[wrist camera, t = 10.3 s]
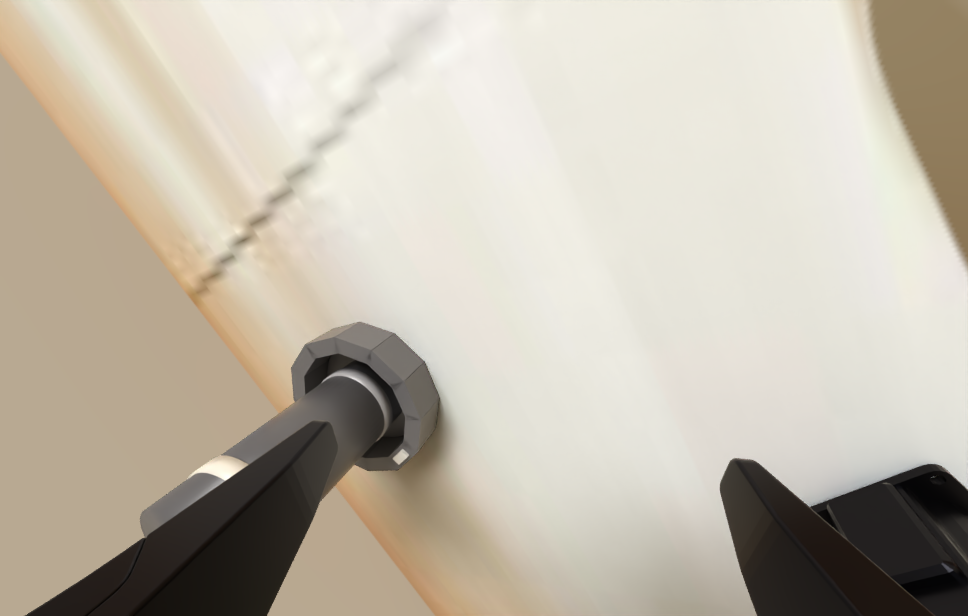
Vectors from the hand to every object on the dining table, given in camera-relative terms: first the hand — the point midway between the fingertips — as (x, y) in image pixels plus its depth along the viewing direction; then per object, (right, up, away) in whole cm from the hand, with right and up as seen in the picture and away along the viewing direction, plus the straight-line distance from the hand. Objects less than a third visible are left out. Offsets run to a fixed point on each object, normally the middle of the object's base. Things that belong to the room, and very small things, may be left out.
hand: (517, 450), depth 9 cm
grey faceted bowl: (-9, -3, +19) cm, 21 cm away
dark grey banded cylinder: (-9, -3, +18) cm, 21 cm away
